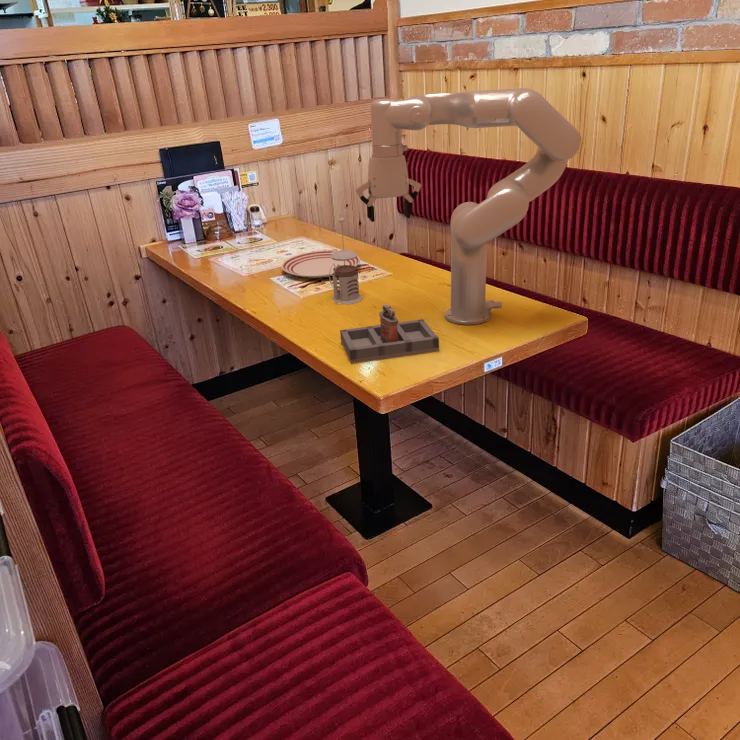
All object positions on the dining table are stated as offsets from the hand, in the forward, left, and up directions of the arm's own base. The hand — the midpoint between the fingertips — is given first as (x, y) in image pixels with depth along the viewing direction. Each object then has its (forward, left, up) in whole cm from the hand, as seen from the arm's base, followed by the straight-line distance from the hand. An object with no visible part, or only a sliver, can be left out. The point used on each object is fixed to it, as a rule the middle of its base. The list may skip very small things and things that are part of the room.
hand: (389, 218), depth 177 cm
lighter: (+6, +19, -28) cm, 34 cm away
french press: (+10, -20, -28) cm, 36 cm away
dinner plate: (+12, -53, -29) cm, 62 cm away
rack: (+6, +19, -28) cm, 34 cm away
